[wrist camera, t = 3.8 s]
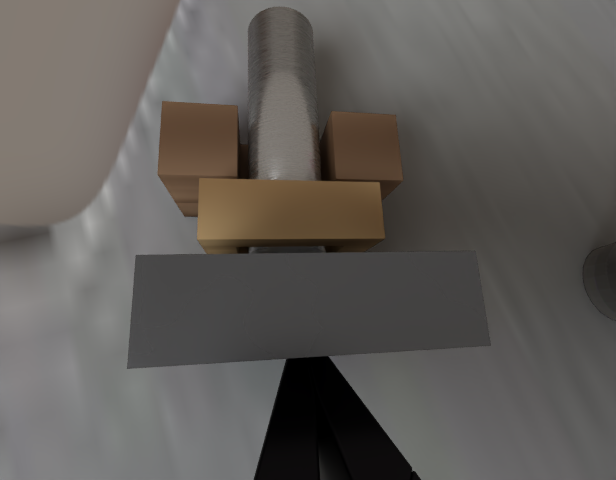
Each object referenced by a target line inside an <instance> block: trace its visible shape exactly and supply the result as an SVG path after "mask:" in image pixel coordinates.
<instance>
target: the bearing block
mask: <svg viewBox="0 0 616 480" xmlns="http://www.w3.org/2000/svg"><path fill="white" fill-rule="evenodd" d="M319 145H320V162H321V180H322V181H344V182H380V191H381V201H382V200H383V199H384V198H385V197H386V196H387V195H389V194H390V193H391V192H392V191H393V190H394V189H395V188H396V187H397V186H398V185H399V184H400V183H401V182H402V181H403V173H402V164H401V156H400V148H399V139H398V131H397V122H396V115H389V114H372V113H354V112H337V111H331V114H330V117H329V119H328V122H327V125H326V127H325V130H324V133H323V135H322V138H321V141H320V143H319ZM158 176H159V177H160V179H161V181H162V182H163V184H164V185H165V187H166V188H167V190H168V191H169V193H170V195H171V196H172V198H173V199H174V201H175V202H176V204H177V206H178V207H179V209H180V210H181V212H182V213H183V215H184V216H185V217H198V200H199V178H215V179H248V145H243V144H240V135H239V121H238V106H235V105H218V104H201V103H184V102H167V101H162V113H161V128H160V144H159V159H158Z"/></svg>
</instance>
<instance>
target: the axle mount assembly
mask: <svg viewBox="0 0 616 480" xmlns="http://www.w3.org/2000/svg"><path fill="white" fill-rule="evenodd" d="M248 179H258V180H301V181H322V180H321V162H320V145H319V127H318V110H317V92H316V75H315V57H314V40H313V29H312V26H311V24H310V22H309V21H308V19H307V18H306V17H305V16H304V15H303V14H301V13H300V12H298V11H296V10H294V9H291V8H287V7H272V8H268V9H265V10H263V11H261V12H259V13H258V14H257V15H256V16H255V17H254V18H253V19H252V21H251V22H250V24H249V28H248ZM477 346H491V343H490V337H489V331H488V325H487V319H486V313H485V306H484V300H483V294H482V288H481V282H480V276H479V270H478V263H477V257H476V251H425V252H342V253H326V249H325V246H293V247H248V254H176V255H136V259H135V273H134V286H133V299H132V312H131V325H130V338H129V351H128V365H127V369H130V368H146V367H162V366H177V365H193V364H209V363H225V362H240V361H256V360H272V359H288V358H303V357H319V356H335V355H351V354H366V353H382V352H398V351H414V350H429V349H445V348H461V347H477Z"/></svg>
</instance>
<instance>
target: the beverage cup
mask: <svg viewBox="0 0 616 480" xmlns="http://www.w3.org/2000/svg"><path fill="white" fill-rule="evenodd" d="M583 281H584V285H585V289H586V292H587V294H588V296H589V298H590V300H591V301H592V303H593V304H594V305H595V306H596V307H597V309H598V310H599V311H600V312H601V313H603V314H604V315H606V316H607V317H609V318H610V319H613V320H616V243H613V244H611V245H608V246H603V247H600V248H598V249H596V250H593V251H592V252H591V254H590V255H589V256H588V257H587V259H586V261H585V264H584V267H583Z"/></svg>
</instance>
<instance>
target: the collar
mask: <svg viewBox="0 0 616 480" xmlns="http://www.w3.org/2000/svg"><path fill="white" fill-rule="evenodd" d="M384 239H385V231H384V221H383V211H382V201H381V191H380V182H344V181H301V180H258V179H215V178H199V200H198V230H197V240H198V241H199V243H200V244H201V246H202V247H203V249H204V250H205V252H206V253H207V254H248V247H293V246H325V249H326V253H342V252H365V251H366V250H368V249H370V248H371V247H373V246H374V245H376V244H377V243H379V242H381V241H382V240H384Z"/></svg>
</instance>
